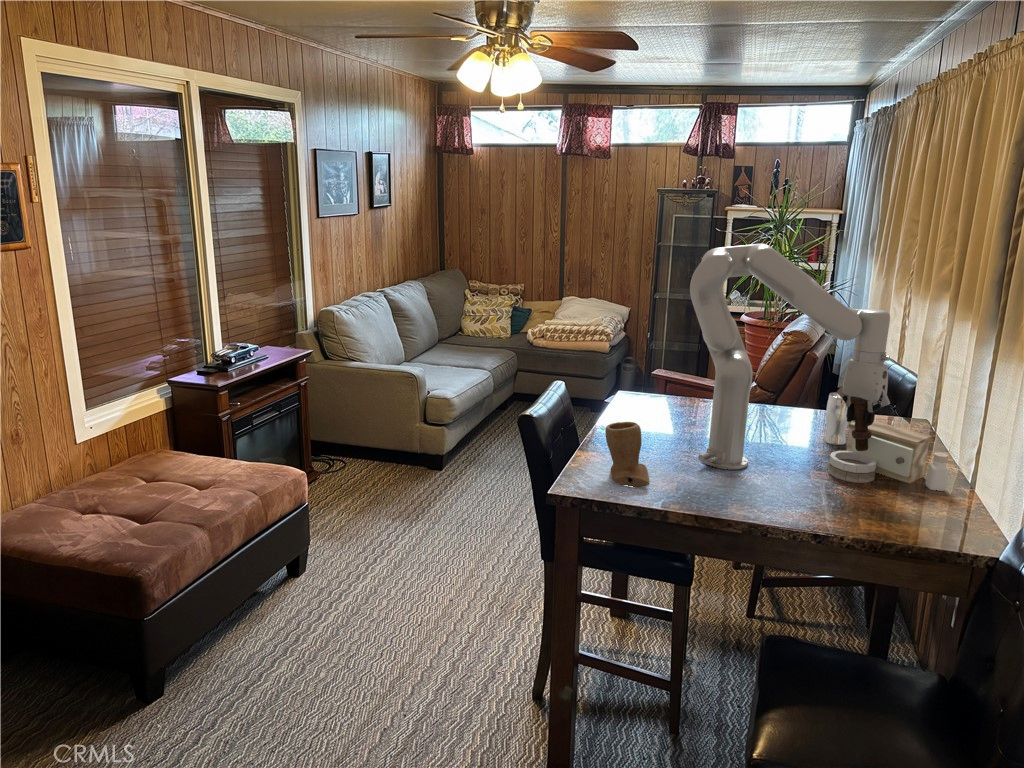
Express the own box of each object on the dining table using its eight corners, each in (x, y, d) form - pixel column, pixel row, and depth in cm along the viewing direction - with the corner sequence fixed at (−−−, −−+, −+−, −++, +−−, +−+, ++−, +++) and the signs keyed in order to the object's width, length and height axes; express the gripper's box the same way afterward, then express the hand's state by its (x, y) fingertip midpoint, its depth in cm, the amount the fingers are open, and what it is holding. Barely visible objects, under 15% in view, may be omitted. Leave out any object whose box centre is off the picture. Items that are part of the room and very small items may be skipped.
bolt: (875, 452, 193) (873, 397, 191) (854, 453, 194) (853, 398, 192) (868, 446, 199) (867, 393, 197) (849, 447, 200) (847, 394, 198)
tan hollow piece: (603, 466, 202) (606, 415, 198) (646, 469, 200) (650, 417, 197) (602, 488, 187) (605, 433, 183) (649, 491, 186) (653, 435, 182)
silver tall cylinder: (851, 444, 224) (858, 397, 220) (834, 446, 221) (841, 399, 217) (834, 437, 230) (840, 391, 226) (817, 439, 227) (823, 393, 223)
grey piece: (881, 484, 186) (885, 456, 184) (820, 461, 201) (824, 435, 199) (908, 476, 191) (913, 449, 189) (847, 454, 206) (851, 429, 204)
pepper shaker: (924, 484, 193) (930, 451, 191) (940, 486, 193) (946, 452, 190) (929, 490, 190) (935, 456, 187) (946, 492, 189) (952, 457, 186)
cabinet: (887, 495, 186) (894, 451, 183) (819, 472, 201) (825, 431, 197) (924, 476, 199) (932, 436, 196) (858, 456, 213) (864, 418, 210)
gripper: (908, 360, 187) (897, 428, 191) (845, 349, 199) (837, 413, 204) (893, 364, 182) (883, 434, 187) (830, 352, 195) (822, 418, 200)
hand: (859, 422), depth 196 cm, fingers closed on bolt, 4 cm apart
